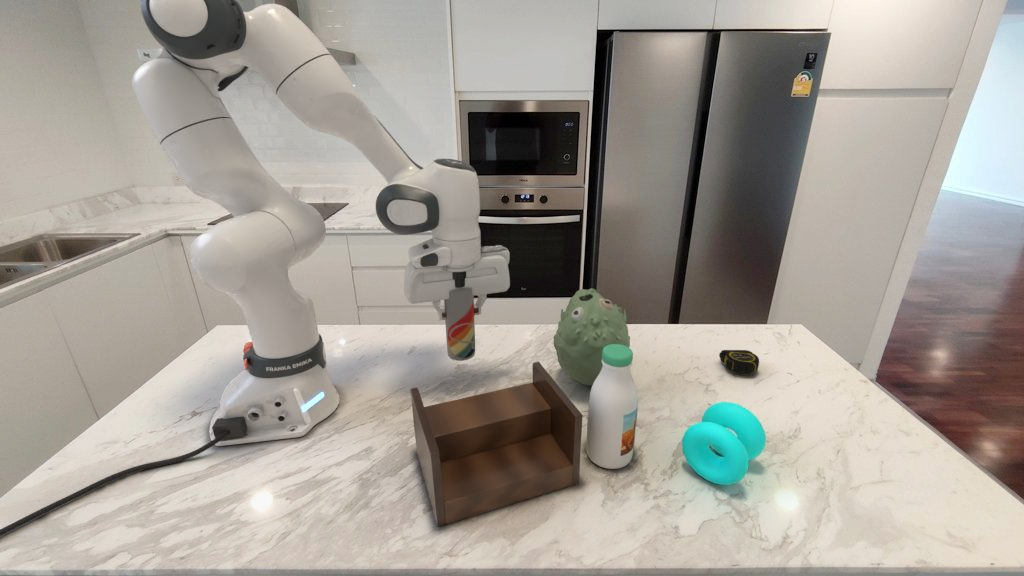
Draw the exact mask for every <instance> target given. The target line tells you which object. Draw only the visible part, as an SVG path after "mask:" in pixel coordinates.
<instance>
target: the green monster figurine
mask: <svg viewBox="0 0 1024 576" xmlns="http://www.w3.org/2000/svg"><path fill="white" fill-rule="evenodd" d="M611 344H620V345H624V346H627V347H628V348H630V347H631V337H630V334H629V328H628V324H627V312H626V309H622V307H621V306H618V305H617V303H614V304H613V302H612V301H611V300H610V299H607V298H604V297H603V296H602V294H601V293H599V292H597V290H596V289H595V288H589V289H584V288H581V289H578V290H577V291H576V292H575V294H574V295H573V296H571V297H570V299H569V301H568V304H567V305H566V308H565V310H564V309H563V308H561V310H560V320H559V321H558V323H557V330H556V332H555V334H554V335H553V347H554V349H555V351H556V356H557V362H558V364H559V367H560V369H561V370H562V371H563V373H564V374H566V375H567V377H568V378H570V379H572V380H573V381H575V382H577V383H579V384H582V385H584V386H592V385H593V383H594V381H595V380H596V378H597V377H598V375H599V373H600V371H601V369H602V367H603V364H602V351H603V348H604V347H605V346H607V345H611Z"/></svg>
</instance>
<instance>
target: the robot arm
mask: <svg viewBox="0 0 1024 576" xmlns="http://www.w3.org/2000/svg"><path fill="white" fill-rule="evenodd" d="M140 9H141V15H142V18H143V21H144V23H145V25H146V27H147V29H148V31H149V32H150V34H151V36H152V37H153V38H154V40H155V41H156V42H157V43H158V44H159V45H160V46H161V47H162V49H161V53H160V54H159V55H158V56H157V57H156V58H154V59H151V60H148V61H146V62H144V63H143V64H141V65H140V66H139V67H138V68H137V69H136V70H135V71H134V73H133V75H132V78H131V86H132V91H133V93H134V95H135V98H136V101H137V103H138V106H139V108H140V110H141V112H142V114H143V116H144V119H145V121H146V122H147V125H148V126H149V128H150V130H151V132H152V133H153V136H154V137H155V139H156V140H157V142H158V143H159V145H160V146H161V148H162V150H163V151H164V153H165V155H166V156H167V157H168V159H169V161H170V162H171V164H172V165H173V167H174V168H175V170H176V172H177V173H178V175H179V176H180V178H181V180H182V181H183V183H184V184H185V186H186V187H187V188H188V190H190V192H192V193H193V194H195V195H196V196H198V197H200V198H203V199H206V200H209V201H212V202H214V203H216V204H217V205H219V206H221V207H222V208H224V209H225V210H226V211H227V212H228V213H229V214H230V215H231V216H232V217H231V218H229V219H226V220H221V221H219V222H217V223H216V224H214V225H213V226H212V227H210V228H208V229H206V230H205V231H203V232H202V233H201V234H200V235H198V236H197V237H196V238H195V239H194V240H193V241H192V243H191V245H190V247H189V261H190V265H191V267H192V270H193V272H194V273H195V275H196V276H197V278H198V280H200V281H201V282H202V283H203V284H204V285H205V286H207V287H208V288H210V289H212V290H214V291H216V292H219V293H222V294H225V295H227V296H229V297H230V298H231V299H232V300H233V301H234V302H235V303H236V305H237V306H238V308H239V309H240V311H241V313H242V314H243V317H244V320H245V323H246V326H247V329H248V333H249V336H250V339H251V341H248V342H247V341H246V342H245V344H244V345H243V349H242V352H243V358H242V361H243V368H244V369H243V370H242V371H241V372H240V373H238V374H237V375H236V376H235V377H234V378H233V379H231V380H230V381H229V383H227V385H226V386H225V388H224V389H223V392H222V395H221V396H220V397H221V398H220V402H219V406H218V408H217V409H216V410H215V412H214V413H213V415H212V418H211V421H210V423H209V431H208V433H209V438H210V441H209V442H208V443H206V444H204V445H202V446H201V447H199V448H197V449H195V450H193V451H190V452H187V453H184V454H182V455H179V456H176V457H172V458H168V459H163V460H158V461H153V462H148V463H143V464H140V465H139V464H138V465H136V466H132V467H130V468H127V469H124V470H121V471H118V472H116V473H114V474H110V475H109V476H106V477H104V478H102V479H99V480H97V481H96V482H94V483H92V484H89V485H87V486H85V487H83V488H82V489H79V490H77V491H75V492H73V493H71V494H69V495H67V496H65V497H63V498H61V499H59V500H56V501H54V502H52V503H50V504H48V505H46V506H44V507H42V508H40V509H37V510H36V511H34V512H32V513H30V514H28V515H26V516H23V517H22V518H20V519H18V520H16V521H14V522H12V523H10V524H8V525H6V526H4V527H1V528H0V537H1V536H3V535H5V534H7V533H9V532H11V531H13V530H15V529H17V528H19V527H21V526H23V525H25V524H28V522H31V521H33V520H35V519H36V518H37V519H38V517H40V516H42V515H44V514H47V513H49V512H51V511H52V510H55V509H57V508H59V507H61V506H62V505H65V504H67V503H69V502H71V501H73V500H75V499H77V498H79V497H81V496H84V495H86V494H87V493H89V492H92V491H94V490H95V489H97V488H100V487H102V486H104V485H106V484H108V483H110V482H112V481H114V480H117V479H120V478H122V477H125V476H128V475H129V474H133V473H136V472H140V471H145V470H148V469H153V468H158V467H162V466H163V467H164V466H168V465H172V464H176V463H179V462H183V461H186V460H188V459H191V458H193V457H196V456H198V455H200V454H201V453H203V452H205V451H207V450H208V449H210V448H212V447H213V446H216V447H223V446H232V445H242V444H251V443H259V442H268V441H275V440H276V441H277V440H278V441H279V440H285V439H295V438H301V437H303V436H305V435H307V434H308V433H309V432H310V431H311V430H312V429H313V427H314V426H315V425H317V424H319V423H321V422H322V421H324V420H325V419H327V418H328V417H329V416H330V415H332V414H334V412H335V411H336V409H337V408H338V406H339V404H340V401H341V396H340V394H339V392H338V391H337V389H336V387H335V385H334V383H333V381H332V379H331V376H330V374H329V373H330V372H329V371H328V368H327V359H328V358H327V353H326V348H325V343H324V342H323V337H322V335H321V333H320V332H319V329H318V327H319V326H318V322H317V318H316V317H317V316H316V312H315V306H314V302H313V299H312V298H311V297H310V296H309V295H307V294H306V293H304V292H303V291H300V290H297V289H295V288H294V286H293V285H292V283H291V281H290V278H289V269H290V268H292V267H293V266H295V265H297V264H299V263H301V262H302V261H305V260H306V259H308V258H309V257H311V256H312V255H313V254H314V253H315V252H316V251H317V250H318V248H320V246H321V245H322V244H323V242H324V241H325V238H326V236H327V235H326V234H327V228H326V223H325V220H324V218H323V216H322V214H321V213H320V212H319V211H318V210H317V209H316V208H315V207H314V206H313V205H311V204H309V203H307V202H305V201H302V200H300V199H298V198H296V197H295V196H294V195H292V194H291V193H289V191H288V190H286V189H285V188H284V187H283V186H282V185H281V184H280V183H279V182H278V181H277V180H276V179H275V178H274V177H273V176H272V175H271V174H270V173H269V172H268V171H267V169H266V168H265V167H264V166H263V165H262V164H261V162H260V161H259V159H258V158H257V157H256V155H255V153H254V151H253V149H252V148H251V147H250V145H249V144H248V142H247V141H246V139H245V137H244V136H243V134H242V132H241V131H240V129H239V127H238V126H237V124H236V122H235V121H234V118H233V117H232V115H231V114H230V112H229V111H228V109H227V106H225V103H224V102H223V100H222V98H221V96H220V93H219V92H222V91H224V90H225V89H226V88H228V87H229V86H230V85H231V84H232V83H233V82H235V81H236V80H238V79H239V78H241V77H242V76H243V75H244V74H245V73H246V72H247V71H248V70H249V68H250V69H252V70H253V71H255V72H256V73H257V74H258V75H259V76H260V77H261V78H262V79H263V80H264V81H265V83H266V84H267V85H268V87H270V89H271V90H272V91H273V92H274V93H275V95H276V97H278V98H279V100H280V101H281V102H282V104H283V105H284V106H285V107H286V108H287V109H288V110H289V111H290V113H292V114H293V115H294V117H296V118H297V119H298V120H299V121H300V122H302V123H303V124H304V125H305V126H307V127H308V128H309V129H311V130H314V131H317V132H319V133H324V134H328V135H331V136H335V137H338V138H339V139H342V140H344V141H347V142H348V143H350V144H351V145H353V146H354V147H356V148H357V149H358V150H359V151H360V152H361V154H362V155H364V157H365V158H366V159H367V160H368V162H370V164H371V165H372V166H373V167H374V168H375V169H376V170H377V171H378V173H379V174H380V175H381V176H382V177H383V178H384V179H385V181H386V182H387V185H385V186H384V187H383V188H382V189H381V190H380V192H379V193H378V194H377V196H376V200H375V212H376V216H377V219H378V220H379V222H380V223H381V225H382V226H383V227H384V228H386V230H388V231H390V232H391V233H394V234H395V235H402V236H408V235H415V234H421V233H426V232H432V233H431V234H432V235H431V236H432V237H431V238H430V239H427V240H425V241H423V242H420V243H417V244H415V245H413V246H410V247H409V248H408V253H407V254H408V259H409V262H408V263H407V264H406V266H405V269H404V278H403V279H404V280H403V281H404V282H403V283H404V284H403V289H404V296H405V299H406V301H408V302H409V303H410V304H411V305H416V304H423V303H429V302H430V303H431V304H432V306H433V308H434V309H435V310H436V312H437V319H438V321H445V320H446V319H447V317H446V316H447V312H446V311H445V307H444V308H441V307H440V305H441V301H444V300H446V299H449V291H451V290H454V289H458V288H455V280H453V277H452V272H464V271H466V278H465V286H464V287H460V288H472V294H473V296H474V297H475V296H477V299H476V301H475V303H474V316H480V315H482V307H483V306H484V304H485V303H486V300H487V299H488V296H487V295H490V294H498V293H505V292H507V291H508V290H509V288H510V286H511V277H510V269H509V263H510V259H511V258H510V256H511V254H510V253H511V252H510V251H509V249H508V248H507V247H505V246H503V245H501V244H495V245H485V246H482V237H481V236H482V235H481V234H482V233H481V228H480V224H479V217H480V215H481V214H480V213H481V195H480V183H479V178H478V174H477V171H476V170H475V168H474V167H473V166H472V165H470V164H469V163H468V162H465V161H462V160H458V159H453V158H436V159H435V160H433V161H432V162H430V164H428V165H427V166H425V167H424V166H421V165H420V164H418V163H416V161H414V160H413V159H412V158H411V157H410V156H409V155H408V153H407V152H406V151H405V150H404V149H403V147H401V145H400V144H399V143H398V142H397V141H396V139H395V138H394V137H393V136H392V134H391V133H390V132H389V131H388V130H387V128H386V127H385V126H384V125H383V124H382V122H381V121H380V120H379V119H378V118H377V116H376V115H375V114H374V113H373V111H372V109H370V107H369V106H368V104H367V103H366V102H365V100H364V99H363V97H362V96H361V94H360V93H359V91H358V90H357V89H356V87H355V86H354V85H353V83H352V82H351V80H350V78H349V77H348V76H347V74H346V73H345V72H344V70H343V69H342V67H341V66H340V64H339V63H338V61H336V59H335V58H334V56H333V55H332V54H331V53H330V51H329V50H328V49H327V47H326V46H325V45H324V44H323V42H322V41H321V40H320V39H319V38H318V36H316V34H315V33H313V31H312V30H311V29H310V28H309V27H308V26H307V25H306V24H305V23H304V22H303V21H302V20H301V19H300V18H299V17H298V16H297V15H296V14H295V13H293V11H291V10H290V9H289V8H287V7H286V6H284V5H282V4H278V3H265V4H262V5H258V6H256V7H254V8H253V9H252V10H250V11H244V10H243V8H242V6H241V4H240V3H239V2H238V0H140Z"/></svg>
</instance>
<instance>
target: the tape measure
mask: <svg viewBox="0 0 1024 576" xmlns="http://www.w3.org/2000/svg"><path fill="white" fill-rule="evenodd" d="M718 357H719V360H720V362H721V363H722V364H724V367H725V368H726V370H728V371H729V372H732V373H734V374H737V375H742V376H750V375H754V374H755V373H757V372H758V368H759V365H760V358H759V356H758V355H757V354H756V353H754V352H753V351H750V350H748V349H721V351H720V352H719V354H718Z"/></svg>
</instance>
